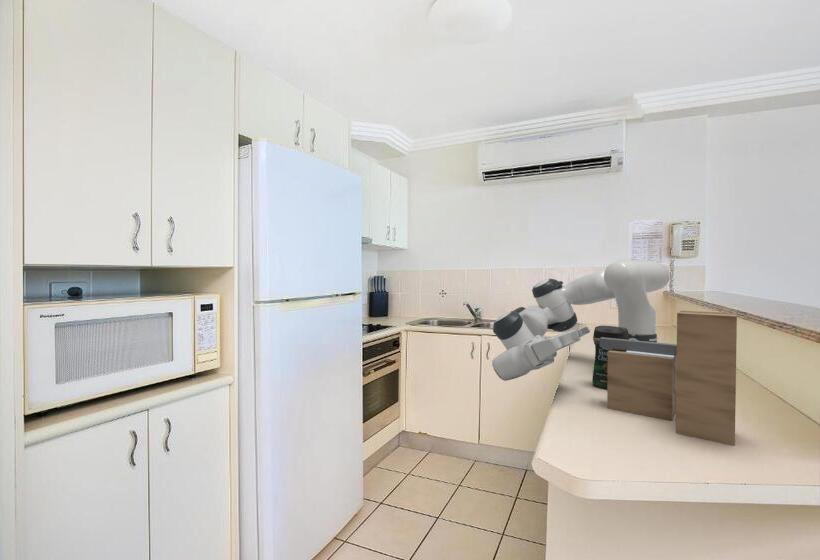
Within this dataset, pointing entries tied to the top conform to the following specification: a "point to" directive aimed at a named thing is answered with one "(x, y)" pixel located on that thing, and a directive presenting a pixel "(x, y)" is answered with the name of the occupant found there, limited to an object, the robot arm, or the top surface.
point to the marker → (638, 346)
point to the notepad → (650, 354)
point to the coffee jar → (605, 352)
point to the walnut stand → (683, 378)
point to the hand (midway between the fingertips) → (583, 331)
